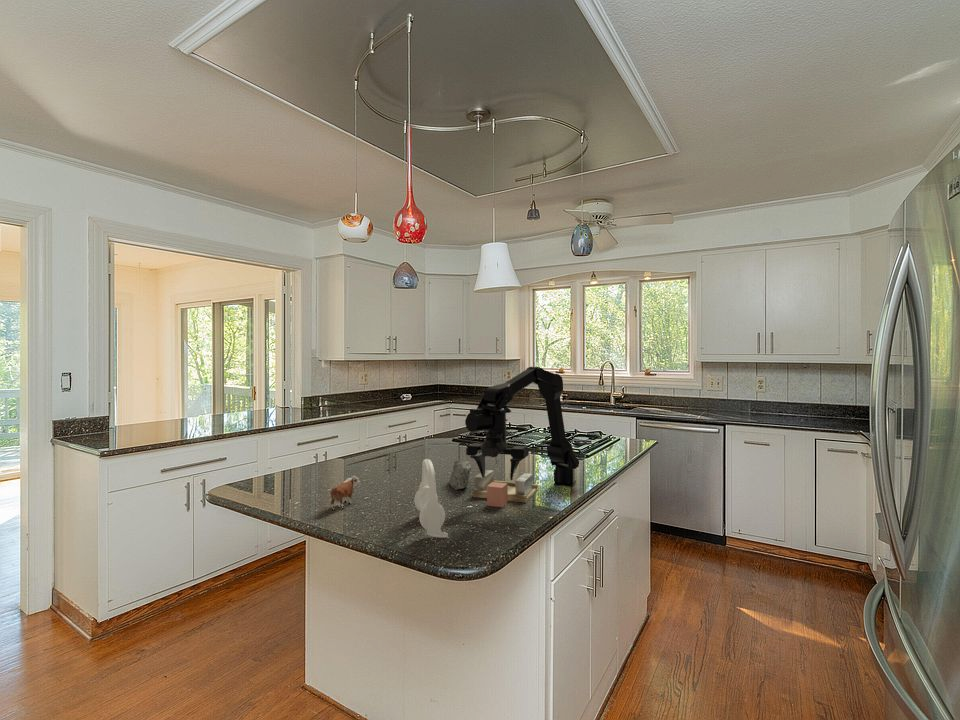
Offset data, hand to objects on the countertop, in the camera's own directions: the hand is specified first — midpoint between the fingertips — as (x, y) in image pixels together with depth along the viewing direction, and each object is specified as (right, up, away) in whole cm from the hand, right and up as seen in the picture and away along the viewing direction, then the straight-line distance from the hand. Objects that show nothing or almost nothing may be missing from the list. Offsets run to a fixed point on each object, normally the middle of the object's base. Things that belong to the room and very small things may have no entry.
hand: (497, 478), depth 154 cm
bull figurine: (-47, -9, 0) cm, 48 cm away
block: (0, -8, 0) cm, 8 cm away
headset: (-19, -9, -18) cm, 28 cm away
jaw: (+9, -6, +8) cm, 14 cm away
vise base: (+3, -8, +11) cm, 14 cm away
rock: (-12, -8, +21) cm, 25 cm away
